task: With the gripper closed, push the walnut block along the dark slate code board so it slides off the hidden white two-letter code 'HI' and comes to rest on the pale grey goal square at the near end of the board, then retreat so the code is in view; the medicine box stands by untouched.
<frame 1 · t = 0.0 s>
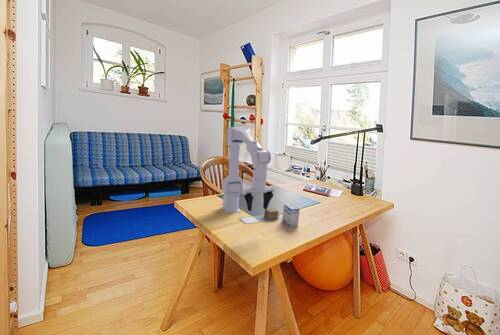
hand: (257, 209, 118), 10 cm above the table, fingers open, 7 cm apart
medicine box: (289, 224, 131), on the table
code board: (260, 219, 135), on the table
walnut block: (271, 217, 137), resting on code board
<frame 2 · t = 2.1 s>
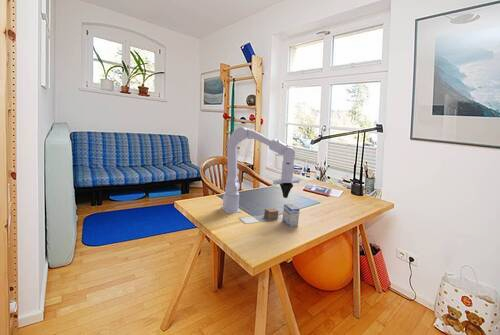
hand: (285, 197, 139), 10 cm above the table, fingers closed
nothing on the table moved.
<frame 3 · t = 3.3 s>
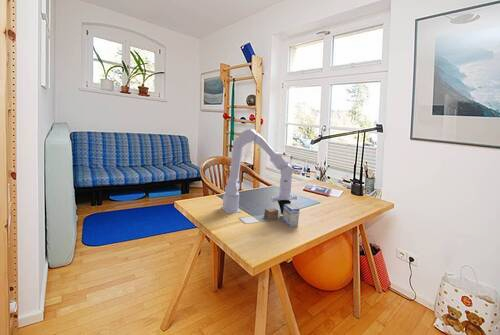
hand: (282, 213, 140), 1 cm above the table, fingers closed
nothing on the table moved.
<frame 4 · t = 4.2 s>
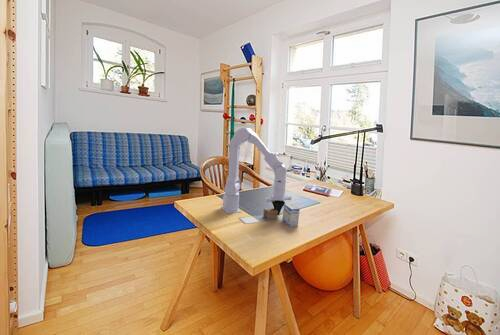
hand: (277, 214, 139), 1 cm above the table, fingers closed
walnut block: (270, 217, 137), resting on code board, touching gripper
everything else where it was.
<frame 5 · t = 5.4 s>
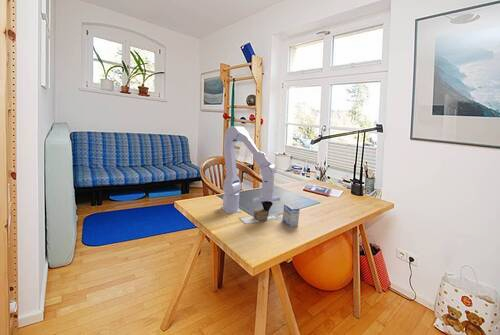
hand: (265, 215, 136), 1 cm above the table, fingers closed, pressing on walnut block
walnut block: (260, 218, 134), resting on code board, touching gripper
everything else where it was.
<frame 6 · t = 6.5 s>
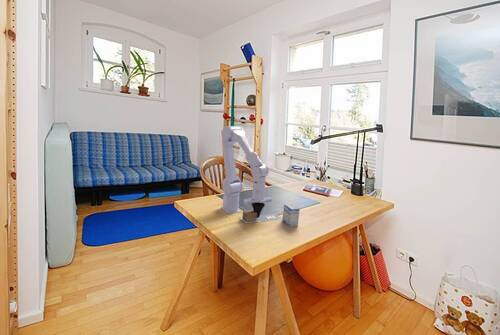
hand: (256, 217, 133), 1 cm above the table, fingers closed
walnut block: (249, 219, 132), resting on code board, touching gripper
everything else where it was.
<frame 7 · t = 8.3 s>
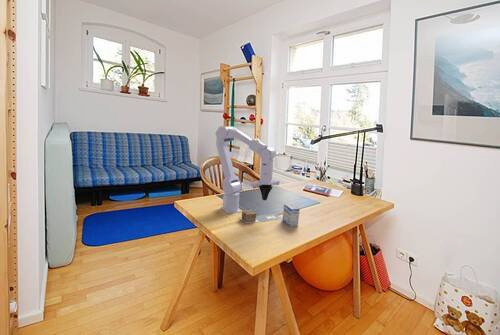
hand: (264, 199, 134), 10 cm above the table, fingers closed
walnut block: (248, 220, 132), resting on code board
everything else where it was.
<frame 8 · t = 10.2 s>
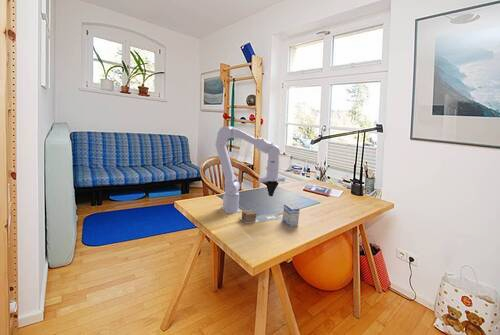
hand: (270, 195, 139), 10 cm above the table, fingers closed
nothing on the table moved.
at the end: walnut block inside the target area (0.5 cm from its centre), resting on code board; walnut block tilted 0°; walnut block moved 12.5 cm from its start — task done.
